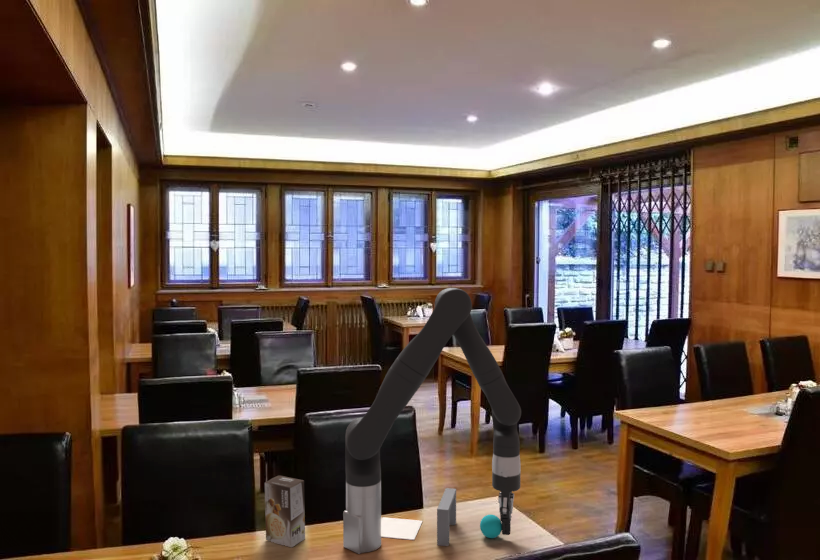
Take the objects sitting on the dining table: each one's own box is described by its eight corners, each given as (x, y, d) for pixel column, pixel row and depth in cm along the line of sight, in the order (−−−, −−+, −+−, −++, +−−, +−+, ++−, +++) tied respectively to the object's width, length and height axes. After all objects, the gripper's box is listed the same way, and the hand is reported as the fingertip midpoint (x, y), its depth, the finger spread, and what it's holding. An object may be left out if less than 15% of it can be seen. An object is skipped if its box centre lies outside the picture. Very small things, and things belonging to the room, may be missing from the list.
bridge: (456, 522, 178) (456, 488, 178) (448, 546, 163) (448, 509, 163) (445, 521, 179) (445, 488, 178) (437, 545, 164) (437, 509, 164)
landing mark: (422, 521, 179) (422, 520, 179) (414, 540, 167) (414, 539, 167) (382, 517, 181) (382, 517, 181) (371, 536, 169) (371, 535, 169)
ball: (501, 535, 164) (482, 522, 165) (492, 546, 167) (473, 533, 168) (508, 518, 169) (489, 506, 170) (499, 529, 172) (481, 517, 173)
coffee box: (306, 538, 168) (305, 480, 168) (291, 548, 163) (290, 487, 162) (279, 531, 173) (279, 474, 172) (264, 540, 167) (263, 482, 166)
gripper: (494, 461, 174) (494, 522, 174) (489, 477, 161) (489, 543, 162) (521, 463, 172) (521, 524, 173) (519, 479, 159) (519, 546, 160)
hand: (506, 533), depth 167 cm, fingers closed
